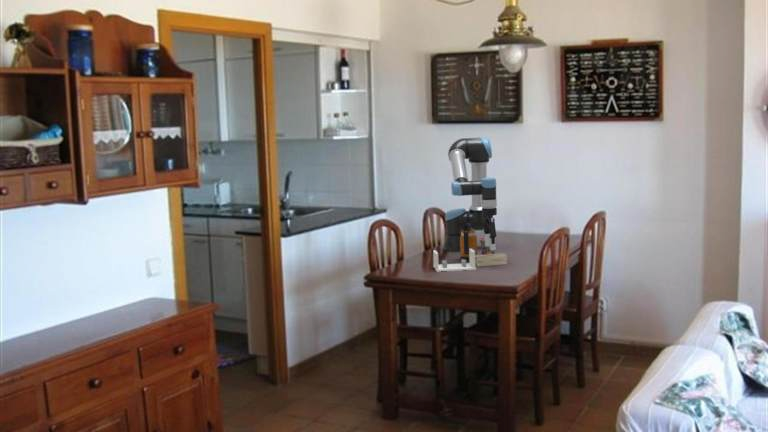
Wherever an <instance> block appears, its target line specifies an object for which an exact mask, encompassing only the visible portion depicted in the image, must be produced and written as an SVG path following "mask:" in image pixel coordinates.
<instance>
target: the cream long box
mask: <svg viewBox="0 0 768 432" xmlns="http://www.w3.org/2000/svg"><path fill="white" fill-rule="evenodd" d="M507 255H508V254H506V253H495V254H488V255H481V254H480V255H479V254H477V255H475V267H487V266H488V267H489V266H491V267H492V266H500V265H501V266H502V265H507V264H508V256H507Z"/></svg>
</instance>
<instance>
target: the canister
mask: <svg viewBox="0 0 768 432" xmlns="http://www.w3.org/2000/svg"><path fill="white" fill-rule="evenodd" d="M471 226H472V224H471V223H467V224H465V225H464V228H465V229H463V230H462V231H461V236H460V251H459V252H460V260H462V259H465V260H466V262H470V259H469V249H473V250H474V251H475V255H478V237H477V233H476V232H477V231H475V230H472V228H471Z"/></svg>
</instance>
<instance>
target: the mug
mask: <svg viewBox="0 0 768 432" xmlns="http://www.w3.org/2000/svg"><path fill="white" fill-rule="evenodd" d="M496 241H497V237H495V242H496ZM479 243H480V245H481V252H480V253H481V254H480V255H488V254H496V252H495V250H490V246H485V237H480V238H479ZM496 243H497V242H496Z"/></svg>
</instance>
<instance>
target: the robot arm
mask: <svg viewBox="0 0 768 432" xmlns="http://www.w3.org/2000/svg"><path fill="white" fill-rule="evenodd" d="M447 156H448V160H449V162H450V164H451V170H452V177H453V181H452V182H451V195H452V196H453V197H455V196H458V197H461V196H471V205H470V206H469V210H466V208H456V209H454V208H453V209H451V210H448V211H446V212H445V239H444V243H443V248H442V249H443V250H444V251H446V252H447V251H448V252H460V236H461V231H462V230H463V229H465V228H464V225H465V224H467V223H471V224H472V226H471V228H472V230H475V232H477V231H478V232H479V231H483V232H484V238H485V246H490V250H494V251H496V249H497V246H496V243H497V242H495V238H497V231H496V222H495V220H496V219H495V217H493V216H497V215H498V213H497V212H498V210H497V206H498V203H497V179H496V178H495V177H487V175H488V173H487V164H488V163H489V162H490V159H491V158H492V157H493V153H492V145H491V141H490V139H489V138H487V137H469V138H467V137H466V138H460V139H457V140H456V141H454V142H453V143H452V144H451V145H450V147H449V149H448V151H447ZM466 160H468V162H469V164H470V165H471V170H470V171H471V180H469V178H468V171H467V167H466V166H467V165H466Z"/></svg>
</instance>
